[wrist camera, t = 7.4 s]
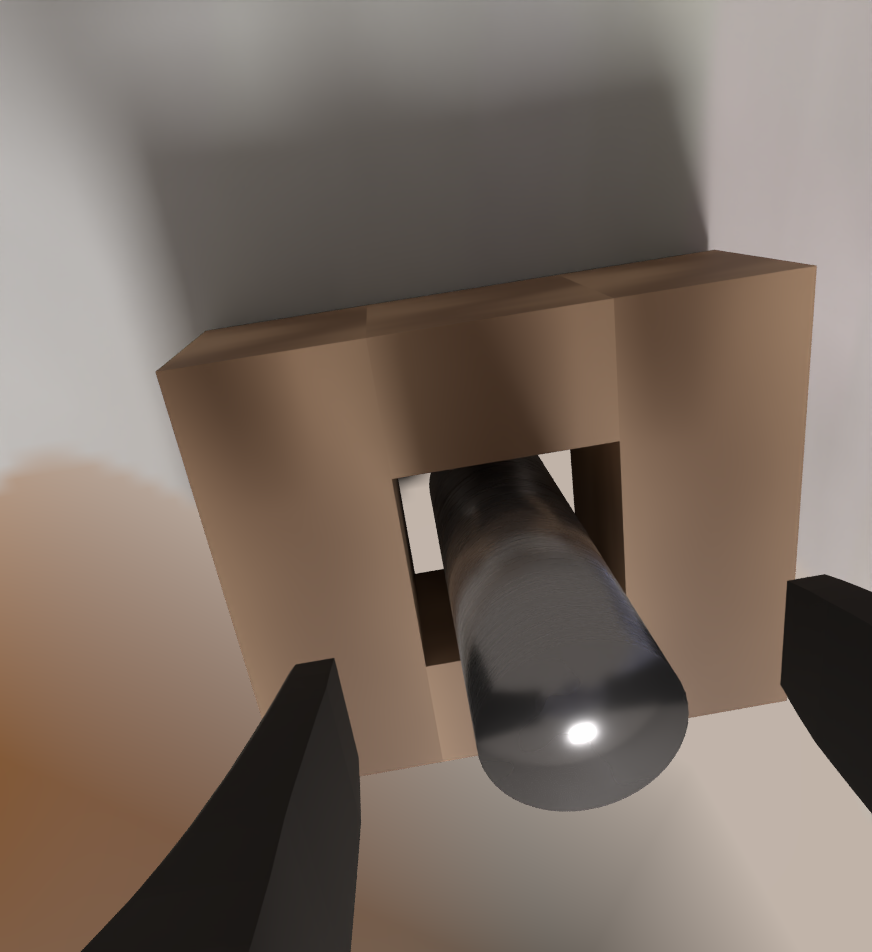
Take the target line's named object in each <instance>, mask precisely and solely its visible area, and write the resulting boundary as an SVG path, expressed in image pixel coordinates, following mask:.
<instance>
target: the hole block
mask: <svg viewBox="0 0 872 952" xmlns="http://www.w3.org/2000/svg"><path fill="white" fill-rule="evenodd" d="M816 269H817V266H815V265H809V264H802V263H796V262H789V261H783V260H776V259H770V258H764V257H757V256H751V255H744V254H738V253H731V252H725V251H719V250H711V251H705V252H698V253H692V254H686V255H679V256H673V257H667V258H661V259H654V260H648V261H642V262H635V263H629V264H623V265H617V266H610V267H604V268H598V269H591V270H585V271H579V272H573V273H566V274H560V275H554V276H547V277H541V278H535V279H529V280H522V281H516V282H510V283H504V284H497V285H491V286H485V287H478V288H472V289H466V290H460V291H453V292H447V293H441V294H434V295H428V296H422V297H416V298H409V299H403V300H397V301H390V302H384V303H378V304H372V305H365V306H359V307H353V308H346V309H340V310H334V311H328V312H321V313H315V314H309V315H302V316H296V317H290V318H284V319H277V320H271V321H265V322H259V323H252V324H246V325H240V326H233V327H227V328H221V329H215V330H208V331H205V332H204V333H203V334H201V335H200V336H199V337H198V338H196V339H195V340H194V341H193V342H191V343H190V344H189V345H188V346H187V347H185V348H184V349H183V350H182V351H180V352H179V353H178V354H177V355H176V356H174V357H173V358H172V359H171V360H169V361H168V362H167V363H166V364H165V365H163V366H162V367H161V368H160V369H158V370H157V371H156V375H157V378H158V382H159V385H160V388H161V391H162V395H163V398H164V401H165V404H166V408H167V411H168V414H169V417H170V421H171V424H172V427H173V430H174V434H175V437H176V440H177V443H178V447H179V450H180V453H181V456H182V460H183V463H184V466H185V470H186V473H187V476H188V479H189V483H190V486H191V489H192V492H193V496H194V499H195V502H196V505H197V509H198V512H199V515H200V518H201V522H202V525H203V528H204V531H205V535H206V538H207V541H208V544H209V548H210V551H211V554H212V557H213V561H214V564H215V567H216V570H217V574H218V577H219V580H220V583H221V587H222V590H223V593H224V597H225V600H226V603H227V606H228V609H229V613H230V616H231V619H232V623H233V626H234V629H235V632H236V635H237V639H238V642H239V645H240V649H241V652H242V655H243V658H244V662H245V665H246V668H247V671H248V675H249V678H250V681H251V684H252V688H253V691H254V694H255V697H256V701H257V704H258V707H259V710H260V714H261V717H262V719H263V717H264V715H265V714H266V712H267V710H268V709H269V707H270V705H271V704H272V702H273V700H274V699H275V697H276V695H277V693H278V692H279V690H280V688H281V686H282V685H283V683H284V681H285V679H286V678H287V676H288V674H289V673H290V671H291V670H292V668H293V667H294V666H295V665H296V664H301V663H307V662H312V661H318V660H324V659H330V658H335V662H336V666H337V670H338V675H339V679H340V683H341V687H342V691H343V695H344V699H345V703H346V707H347V711H348V715H349V719H350V724H351V728H352V732H353V736H354V740H355V744H356V748H357V752H358V756H359V775H360V776H365V775H371V774H377V773H382V772H387V771H393V770H399V769H405V768H410V767H415V766H421V765H427V764H433V763H438V762H444V761H450V760H455V759H461V758H467V757H472V756H478V752H477V747H476V742H475V736H474V731H473V725H472V720H471V714H470V709H469V703H468V698H467V692H466V687H465V681H464V676H463V670H462V665H461V660H460V654H459V649H458V643H457V638H456V632H455V627H454V621H453V616H452V610H451V605H450V599H449V594H448V589H447V583H446V578H445V572H444V569H441V570H435V571H429V572H424V573H418V574H415V571H414V566H413V560H412V555H411V549H410V543H409V538H408V532H407V527H406V521H405V515H404V510H403V504H402V499H401V493H400V487H399V482H398V478H401V477H407V476H413V475H419V474H425V473H431V472H437V471H443V470H449V469H455V468H461V467H467V466H473V465H479V464H485V463H491V462H497V461H503V460H509V459H515V458H521V457H527V456H533V455H539V454H545V453H551V452H557V451H563V450H569V449H570V451H571V466H572V480H573V494H574V507H575V515H576V516H577V518H578V520H579V521H580V523H581V524H582V526H583V527H584V529H585V531H586V532H587V534H588V535H589V537H590V539H591V540H592V542H593V543H594V545H595V546H596V548H597V550H598V551H599V553H600V554H601V556H602V558H603V559H604V561H605V562H606V564H607V566H608V567H609V569H610V570H611V572H612V573H613V575H614V577H615V578H616V580H617V581H618V583H619V585H620V586H621V588H622V589H623V591H624V592H625V594H626V596H627V597H628V599H629V600H630V602H631V604H632V605H633V607H634V608H635V610H636V611H637V613H638V615H639V616H640V618H641V619H642V621H643V623H644V624H645V626H646V627H647V629H648V631H649V632H650V634H651V635H652V637H653V638H654V640H655V642H656V643H657V645H658V646H659V648H660V650H661V651H662V653H663V654H664V656H665V657H666V659H667V661H668V662H669V664H670V665H671V667H672V669H673V670H674V672H675V673H676V675H677V676H678V678H679V680H680V681H681V683H682V685H683V688H684V690H685V692H686V697H687V701H688V710H689V716H688V718H691V717H697V716H702V715H708V714H714V713H719V712H725V711H731V710H736V709H742V708H747V707H753V706H758V705H764V704H770V703H776V702H781V701H786V700H787V695H786V694H785V692H784V690H783V688H782V687H781V685H780V681H781V665H782V650H783V635H784V619H785V604H786V589H787V581H789V580H794V579H795V572H796V557H797V543H798V529H799V514H800V500H801V485H802V471H803V456H804V442H805V428H806V413H807V399H808V384H809V370H810V356H811V341H812V327H813V312H814V298H815V284H816Z"/></svg>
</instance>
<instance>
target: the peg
mask: <svg viewBox="0 0 872 952" xmlns="http://www.w3.org/2000/svg"><path fill="white" fill-rule="evenodd" d="M429 488H430V496H431V501H432V506H433V512H434V518H435V523H436V528H437V534H438V539H439V545H440V550H441V555H442V561H443V566H444V572H445V578H446V583H447V589H448V594H449V599H450V605H451V610H452V616H453V621H454V627H455V632H456V638H457V643H458V649H459V654H460V660H461V665H462V670H463V676H464V681H465V687H466V692H467V698H468V703H469V709H470V714H471V720H472V725H473V731H474V736H475V742H476V747H477V752H478V756H479V759H480V762H481V764H482V767H483V769H484V771H485V772H486V774H487V775H488V777H489V778H490V779H491V781H492V782H493V783H494V784H495V785H496V786H497V787H498V788H499V789H500V790H501V791H503V792H504V793H505V794H507V795H508V796H510V797H512V798H513V799H515V800H517V801H519V802H521V803H524V804H526V805H530V806H532V807H536V808H541V809H545V810H551V811H581V810H588V809H593V808H598V807H602V806H605V805H608V804H611V803H614V802H617V801H619V800H621V799H624V798H626V797H628V796H630V795H632V794H634V793H635V792H637V791H639V790H640V789H642V788H643V787H645V786H646V785H648V784H649V783H650V782H651V781H652V780H654V779H655V778H656V777H657V776H659V774H660V773H661V772H662V771H663V770H664V769H665V768H666V767H667V766H668V765H669V763H670V762H671V761H672V759H673V758H674V757H675V755H676V753H677V752H678V750H679V748H680V746H681V744H682V742H683V739H684V737H685V733H686V729H687V725H688V716H689V710H688V701H687V697H686V692H685V690H684V688H683V685H682V683H681V681H680V680H679V678H678V676H677V675H676V673H675V672H674V670H673V669H672V667H671V665H670V664H669V662H668V661H667V659H666V657H665V656H664V654H663V653H662V651H661V650H660V648H659V646H658V645H657V643H656V642H655V640H654V638H653V637H652V635H651V634H650V632H649V631H648V629H647V627H646V626H645V624H644V623H643V621H642V619H641V618H640V616H639V615H638V613H637V611H636V610H635V608H634V607H633V605H632V604H631V602H630V600H629V599H628V597H627V596H626V594H625V592H624V591H623V589H622V588H621V586H620V585H619V583H618V581H617V580H616V578H615V577H614V575H613V573H612V572H611V570H610V569H609V567H608V566H607V564H606V562H605V561H604V559H603V558H602V556H601V554H600V553H599V551H598V550H597V548H596V546H595V545H594V543H593V542H592V540H591V539H590V537H589V535H588V534H587V532H586V531H585V529H584V527H583V526H582V524H581V523H580V521H579V520H578V518H577V516H576V515H575V513H574V512H573V510H572V508H571V507H570V505H569V504H568V502H567V501H566V499H565V497H564V496H563V494H562V493H561V491H560V489H559V488H558V486H557V485H556V483H555V482H554V480H553V478H552V477H551V475H550V474H549V472H548V470H547V469H546V467H545V466H544V464H543V462H542V461H541V459H540V458H539V456H538V455H533V456H527V457H521V458H515V459H509V460H503V461H497V462H491V463H485V464H479V465H473V466H467V467H461V468H455V469H449V470H443V471H437V472H431V475H430V482H429Z"/></svg>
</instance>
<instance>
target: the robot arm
mask: <svg viewBox="0 0 872 952" xmlns="http://www.w3.org/2000/svg"><path fill="white" fill-rule="evenodd" d="M780 685H781V687H782V688H783V690H784V692H785V694H786V695H787V697H788V699H789V700H790V702H791V704H792V705H793V707H794V709H795V711H796V712H797V714H798V715H799V717H800V719H801V720H802V722H803V724H804V725H805V727H806V728H807V730H808V731H809V733H810V734H811V736H812V738H813V739H814V741H815V742H816V744H817V745H818V746H819V748H820V749H821V750H822V751H823V753H824V754H825V755H826V757H827V758H828V759H829V760H830V762H831V763H832V764H833V765H834V767H835V768H836V769H837V771H838V772H839V773H840V774H841V776H842V777H843V778H844V779H845V781H846V782H847V783H848V784H849V786H850V787H851V788H852V790H853V791H854V792H855V793H856V794H857V796H858V797H859V798H860V799H861V801H862V802H863V803H864V804H865V806H866V807H867V808H868V809H869V811H870V812H871V813H872V592H871V591H868V590H866V589H863V588H861V587H858V586H856V585H853V584H851V583H848V582H845V581H843V580H840V579H837V578H834V577H831V576H828V575H825V574H824V575H818V576H812V577H806V578H800V579H794V580H789V581H787V589H786V604H785V619H784V635H783V650H782V665H781V681H780ZM360 826H361V809H360V775H359V756H358V752H357V748H356V744H355V740H354V736H353V732H352V728H351V724H350V719H349V715H348V711H347V707H346V703H345V699H344V695H343V691H342V687H341V683H340V679H339V675H338V670H337V666H336V662H335V658H330V659H324V660H318V661H312V662H307V663H301V664H296V665H295V666H294V667H293V668H292V670H291V671H290V673H289V674H288V676H287V678H286V679H285V681H284V683H283V685H282V686H281V688H280V690H279V692H278V693H277V695H276V697H275V699H274V700H273V702H272V704H271V705H270V707H269V709H268V710H267V712H266V714H265V715H264V717H263V719H262V720H261V722H260V724H259V726H258V727H257V729H256V731H255V732H254V733H253V735H252V737H251V738H250V740H249V741H248V743H247V744H246V746H245V747H244V749H243V751H242V752H241V754H240V755H239V757H238V758H237V760H236V762H235V763H234V765H233V766H232V768H231V769H230V771H229V772H228V774H227V775H226V777H225V778H224V780H223V781H222V783H221V784H220V785H219V787H218V788H217V790H216V791H215V792H214V794H213V795H212V796H211V798H210V799H209V801H208V802H207V803H206V805H205V806H204V808H203V809H202V810H201V812H200V813H199V815H198V816H197V817H196V819H195V820H194V822H193V823H192V825H191V826H190V827H189V828H188V830H187V831H186V832H185V834H184V835H183V836H182V837H181V839H180V840H179V841H178V843H177V844H176V845H175V846H174V848H173V849H172V850H171V851H170V853H169V854H168V855H167V856H166V858H165V859H164V860H163V861H162V863H161V864H160V865H159V866H158V867H157V869H156V870H155V871H154V872H153V873H152V874H151V876H150V877H149V878H148V879H147V880H146V882H145V883H144V884H143V885H142V887H141V888H140V889H139V890H138V891H137V892H136V893H135V894H134V896H133V897H132V898H131V899H130V900H129V901H128V902H127V903H126V904H125V906H124V907H123V908H122V909H121V910H120V911H119V912H118V913H117V914H116V915H115V916H114V917H113V918H112V919H111V920H110V921H109V922H108V924H107V925H106V926H105V927H104V928H103V929H102V930H101V931H100V932H99V933H98V934H97V935H96V936H95V937H94V938H93V940H91V941H90V942H89V944H88V945H87V946H86V947H85V948H84V949H83V950H82V951H81V952H350V951H351V940H352V928H353V916H354V903H355V891H356V879H357V866H358V853H359V840H360Z"/></svg>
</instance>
